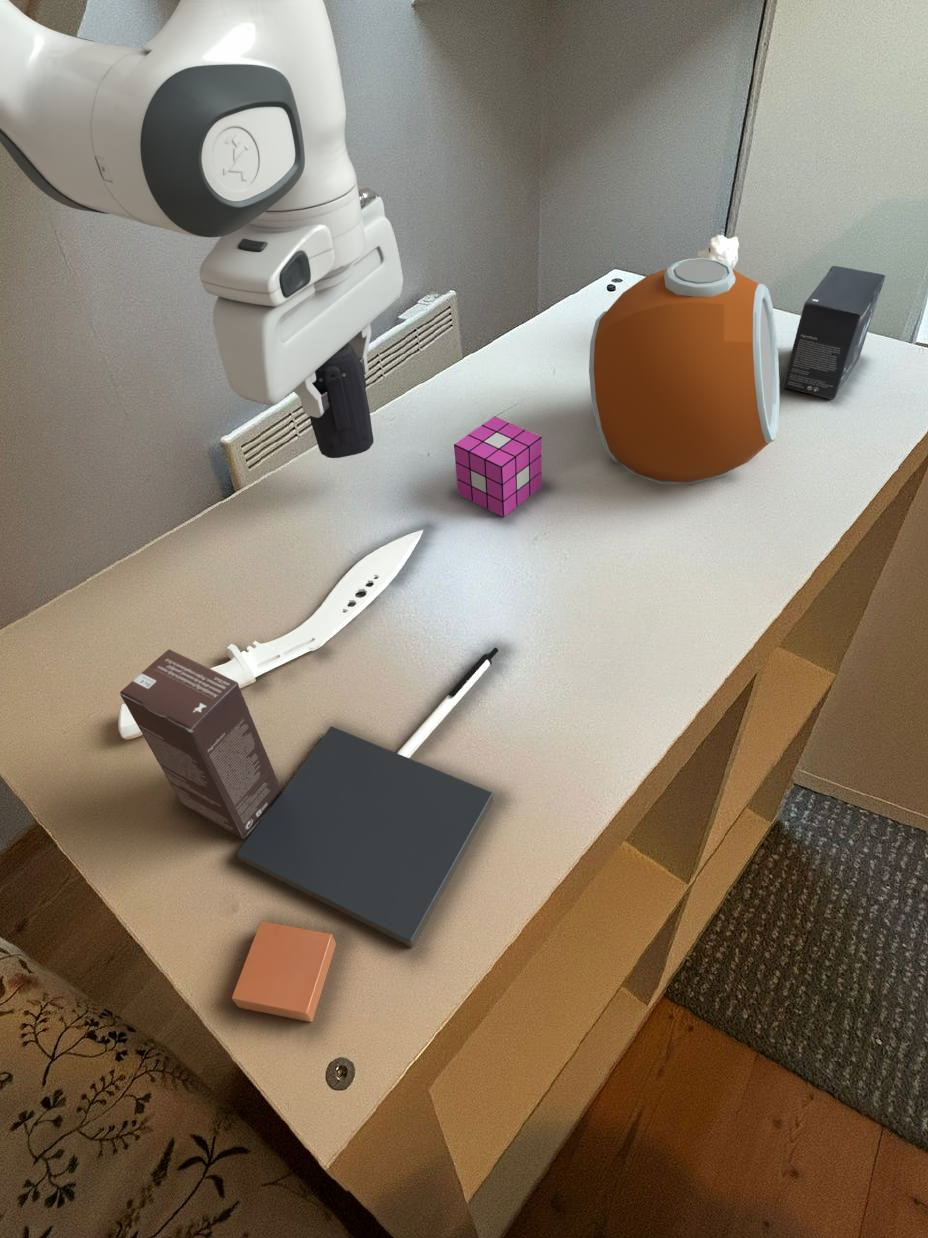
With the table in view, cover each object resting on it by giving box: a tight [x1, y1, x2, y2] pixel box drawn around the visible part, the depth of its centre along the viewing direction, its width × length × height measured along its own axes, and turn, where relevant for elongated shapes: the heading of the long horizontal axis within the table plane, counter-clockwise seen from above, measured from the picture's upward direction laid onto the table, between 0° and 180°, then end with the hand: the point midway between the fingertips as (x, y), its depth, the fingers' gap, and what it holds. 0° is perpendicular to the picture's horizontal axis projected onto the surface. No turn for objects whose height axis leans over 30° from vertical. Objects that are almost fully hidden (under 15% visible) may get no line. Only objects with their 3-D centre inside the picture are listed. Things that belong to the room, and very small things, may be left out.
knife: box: [117, 529, 424, 740], centre depth 67 cm, size 30×2×8 cm
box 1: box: [119, 649, 283, 840], centre depth 52 cm, size 6×4×12 cm
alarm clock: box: [588, 257, 780, 485], centre depth 74 cm, size 19×18×17 cm
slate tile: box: [236, 725, 494, 949], centre depth 54 cm, size 13×11×1 cm
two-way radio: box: [308, 343, 375, 459], centre depth 70 cm, size 6×4×15 cm
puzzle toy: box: [453, 415, 543, 518], centre depth 76 cm, size 6×6×6 cm
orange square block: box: [231, 920, 337, 1023], centre depth 48 cm, size 4×4×2 cm
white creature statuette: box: [696, 234, 740, 270], centre depth 89 cm, size 10×9×12 cm
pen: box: [396, 647, 499, 759], centre depth 59 cm, size 1×19×1 cm, turn 144°
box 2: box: [782, 265, 886, 400], centre depth 84 cm, size 9×6×10 cm, turn 147°
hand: (337, 393), depth 71 cm, fingers closed on two-way radio, 5 cm apart
